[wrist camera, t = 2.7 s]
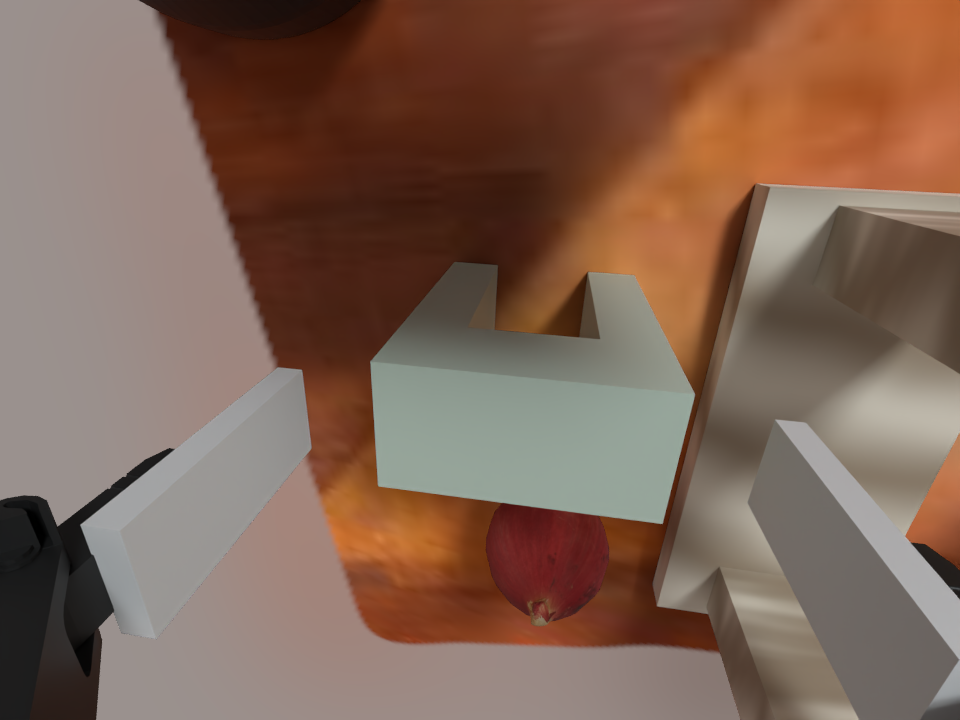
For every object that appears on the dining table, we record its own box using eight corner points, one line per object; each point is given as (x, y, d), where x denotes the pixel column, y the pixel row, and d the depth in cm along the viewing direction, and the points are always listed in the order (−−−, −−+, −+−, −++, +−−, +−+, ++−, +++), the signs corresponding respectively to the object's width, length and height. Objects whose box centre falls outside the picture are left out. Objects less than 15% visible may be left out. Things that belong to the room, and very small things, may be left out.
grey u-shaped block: (454, 261, 23) (370, 361, 13) (634, 275, 22) (695, 394, 12) (453, 342, 24) (378, 486, 14) (619, 358, 23) (662, 523, 13)
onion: (625, 490, 26) (648, 625, 19) (560, 552, 29) (559, 691, 22) (535, 433, 26) (525, 550, 18) (476, 501, 28) (447, 627, 21)
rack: (756, 183, 19) (1314, 323, 5) (1042, 198, 18) (2852, 439, 4) (652, 584, 29) (743, 1037, 14) (837, 611, 27) (1140, 1136, 13)
